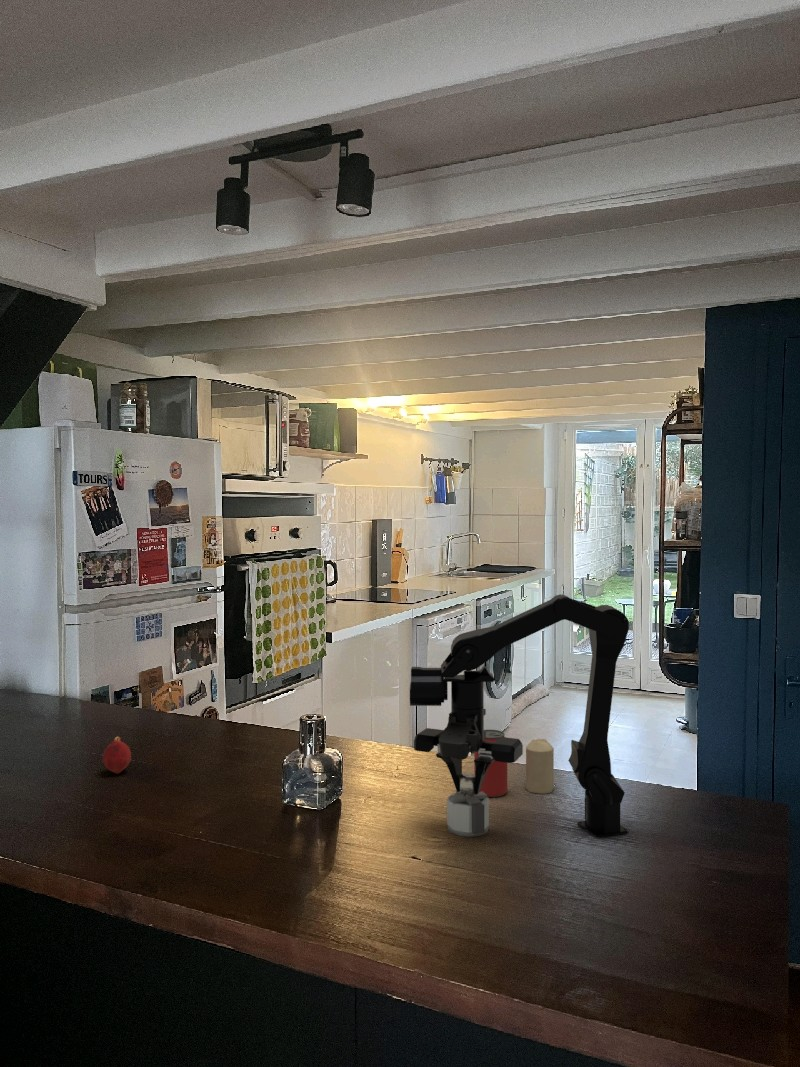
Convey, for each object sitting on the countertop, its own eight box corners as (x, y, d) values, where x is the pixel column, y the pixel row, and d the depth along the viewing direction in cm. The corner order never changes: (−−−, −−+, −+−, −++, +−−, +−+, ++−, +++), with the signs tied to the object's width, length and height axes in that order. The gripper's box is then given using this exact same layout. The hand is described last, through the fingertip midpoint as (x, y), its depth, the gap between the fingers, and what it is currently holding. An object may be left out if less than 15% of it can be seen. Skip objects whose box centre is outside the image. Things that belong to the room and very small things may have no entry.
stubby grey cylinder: (485, 821, 145) (485, 778, 145) (461, 825, 143) (461, 781, 143) (474, 812, 149) (474, 770, 149) (450, 815, 148) (450, 773, 147)
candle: (545, 796, 162) (545, 746, 162) (521, 790, 166) (521, 741, 165) (558, 788, 167) (558, 739, 166) (534, 782, 170) (534, 735, 170)
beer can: (506, 799, 161) (505, 738, 160) (472, 797, 162) (472, 737, 161) (508, 787, 167) (508, 729, 167) (476, 785, 168) (476, 728, 168)
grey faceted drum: (498, 835, 143) (498, 801, 143) (460, 842, 141) (460, 807, 140) (477, 818, 151) (477, 786, 151) (441, 824, 148) (441, 791, 148)
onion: (125, 778, 175) (125, 741, 175) (99, 778, 175) (98, 741, 175) (135, 769, 181) (134, 733, 180) (109, 769, 181) (108, 733, 181)
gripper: (400, 711, 142) (401, 800, 143) (504, 722, 134) (504, 816, 135) (425, 697, 152) (426, 780, 153) (523, 706, 144) (523, 794, 145)
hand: (467, 792), depth 146 cm, fingers closed on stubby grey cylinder, 3 cm apart
